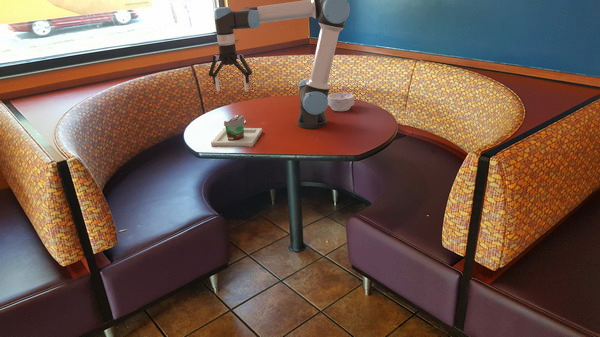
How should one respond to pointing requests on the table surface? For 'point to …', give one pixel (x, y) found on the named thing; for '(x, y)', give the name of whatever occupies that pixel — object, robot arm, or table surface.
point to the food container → (235, 128)
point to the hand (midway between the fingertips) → (232, 90)
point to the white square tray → (247, 141)
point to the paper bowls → (340, 101)
